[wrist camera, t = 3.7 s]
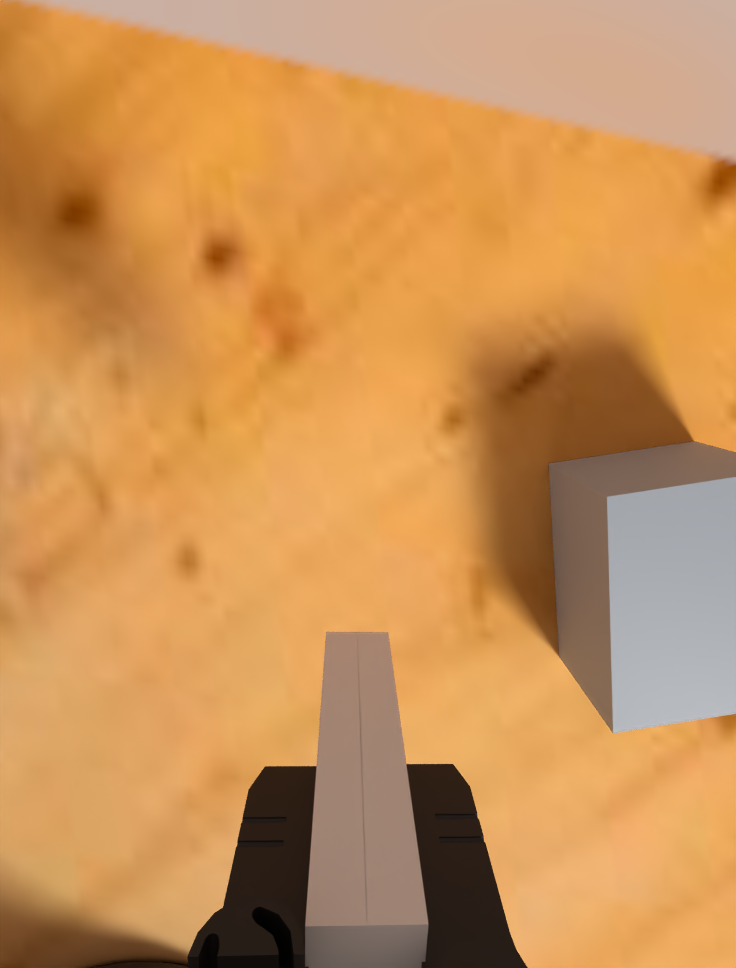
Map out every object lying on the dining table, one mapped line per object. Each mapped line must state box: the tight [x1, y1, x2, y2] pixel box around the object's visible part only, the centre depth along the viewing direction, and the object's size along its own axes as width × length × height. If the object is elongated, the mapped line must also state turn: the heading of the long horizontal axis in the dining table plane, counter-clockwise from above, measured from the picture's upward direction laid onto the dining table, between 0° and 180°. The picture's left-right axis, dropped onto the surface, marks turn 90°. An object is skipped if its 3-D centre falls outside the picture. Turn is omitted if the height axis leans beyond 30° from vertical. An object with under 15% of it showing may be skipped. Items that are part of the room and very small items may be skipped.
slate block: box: [549, 441, 736, 733], centre depth 20 cm, size 6×9×5 cm, turn 8°
